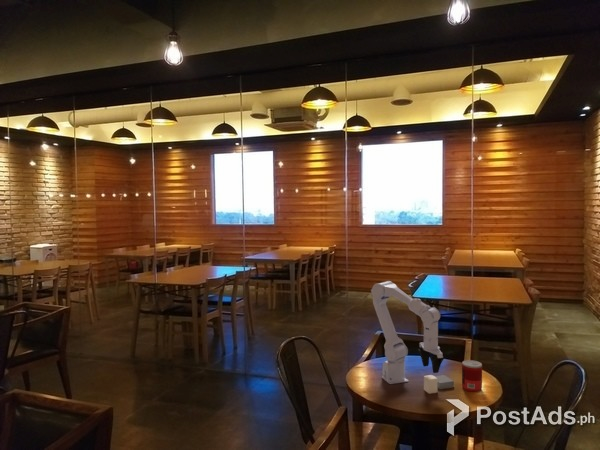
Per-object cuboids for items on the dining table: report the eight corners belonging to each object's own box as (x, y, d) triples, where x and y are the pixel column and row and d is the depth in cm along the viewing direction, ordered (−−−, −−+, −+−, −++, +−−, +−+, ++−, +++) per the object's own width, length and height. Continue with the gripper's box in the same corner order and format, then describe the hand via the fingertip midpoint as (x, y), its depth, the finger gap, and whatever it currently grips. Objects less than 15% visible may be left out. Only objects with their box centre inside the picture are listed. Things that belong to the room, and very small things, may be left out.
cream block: (428, 393, 183) (429, 379, 183) (423, 389, 187) (423, 375, 187) (437, 392, 184) (437, 378, 184) (432, 388, 188) (432, 374, 188)
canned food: (485, 390, 185) (486, 365, 184) (469, 393, 183) (469, 367, 182) (473, 383, 192) (474, 359, 192) (458, 386, 190) (458, 361, 189)
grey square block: (439, 390, 187) (439, 383, 187) (430, 383, 194) (430, 376, 194) (453, 387, 189) (453, 381, 189) (443, 381, 196) (444, 375, 196)
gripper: (449, 341, 179) (449, 374, 179) (429, 331, 193) (429, 362, 193) (433, 343, 177) (433, 376, 177) (415, 333, 191) (415, 363, 191)
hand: (430, 369), depth 185 cm, fingers open, 7 cm apart
